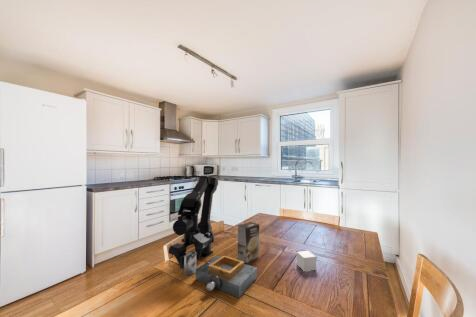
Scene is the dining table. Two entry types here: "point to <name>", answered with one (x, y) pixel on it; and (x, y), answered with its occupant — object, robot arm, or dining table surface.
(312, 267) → the adhesive note
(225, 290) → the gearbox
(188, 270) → the silver calibration weight
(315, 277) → the dining table surface
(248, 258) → the coffee box
